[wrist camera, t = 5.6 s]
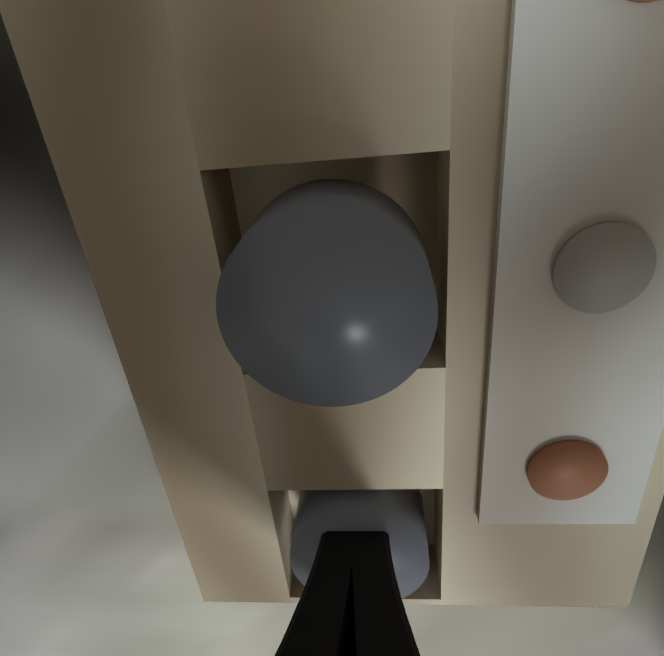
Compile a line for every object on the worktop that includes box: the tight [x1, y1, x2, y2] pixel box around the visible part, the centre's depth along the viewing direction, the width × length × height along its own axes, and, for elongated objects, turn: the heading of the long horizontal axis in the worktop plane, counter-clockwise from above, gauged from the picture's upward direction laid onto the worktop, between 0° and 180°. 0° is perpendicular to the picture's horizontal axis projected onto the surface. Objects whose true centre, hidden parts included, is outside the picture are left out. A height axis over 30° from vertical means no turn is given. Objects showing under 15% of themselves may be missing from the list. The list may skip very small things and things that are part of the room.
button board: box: [0, 0, 664, 607], centre depth 9 cm, size 10×17×2 cm, turn 5°
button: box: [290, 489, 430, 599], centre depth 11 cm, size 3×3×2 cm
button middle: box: [216, 179, 438, 407], centre depth 7 cm, size 3×3×2 cm
